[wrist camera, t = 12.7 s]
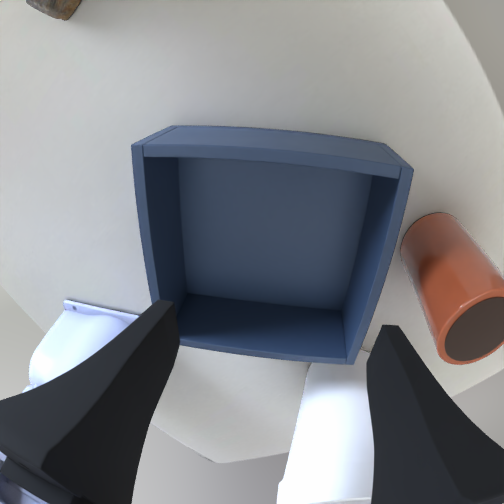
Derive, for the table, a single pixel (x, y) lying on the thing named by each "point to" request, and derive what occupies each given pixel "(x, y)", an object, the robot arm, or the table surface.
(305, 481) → the foam cup
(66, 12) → the worn brown figurine
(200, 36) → the table surface
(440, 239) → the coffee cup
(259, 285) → the tote
